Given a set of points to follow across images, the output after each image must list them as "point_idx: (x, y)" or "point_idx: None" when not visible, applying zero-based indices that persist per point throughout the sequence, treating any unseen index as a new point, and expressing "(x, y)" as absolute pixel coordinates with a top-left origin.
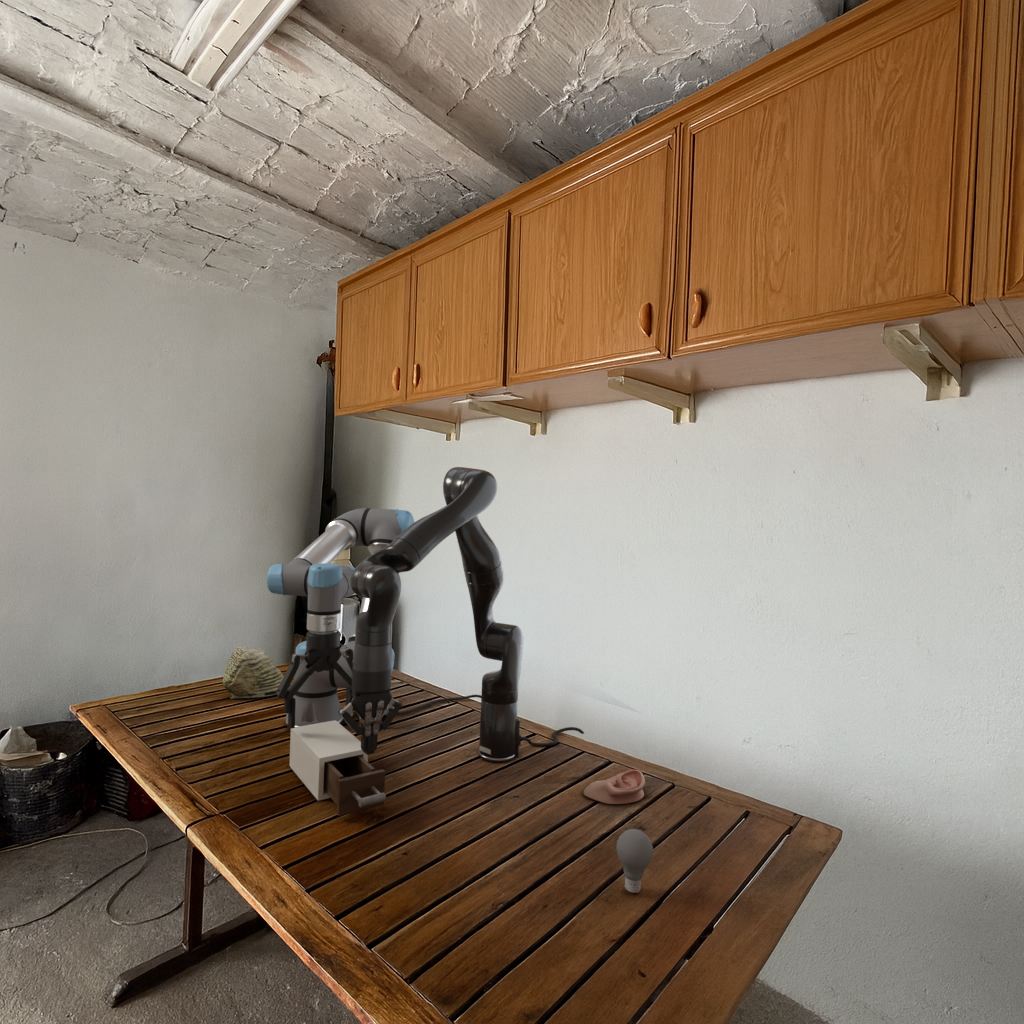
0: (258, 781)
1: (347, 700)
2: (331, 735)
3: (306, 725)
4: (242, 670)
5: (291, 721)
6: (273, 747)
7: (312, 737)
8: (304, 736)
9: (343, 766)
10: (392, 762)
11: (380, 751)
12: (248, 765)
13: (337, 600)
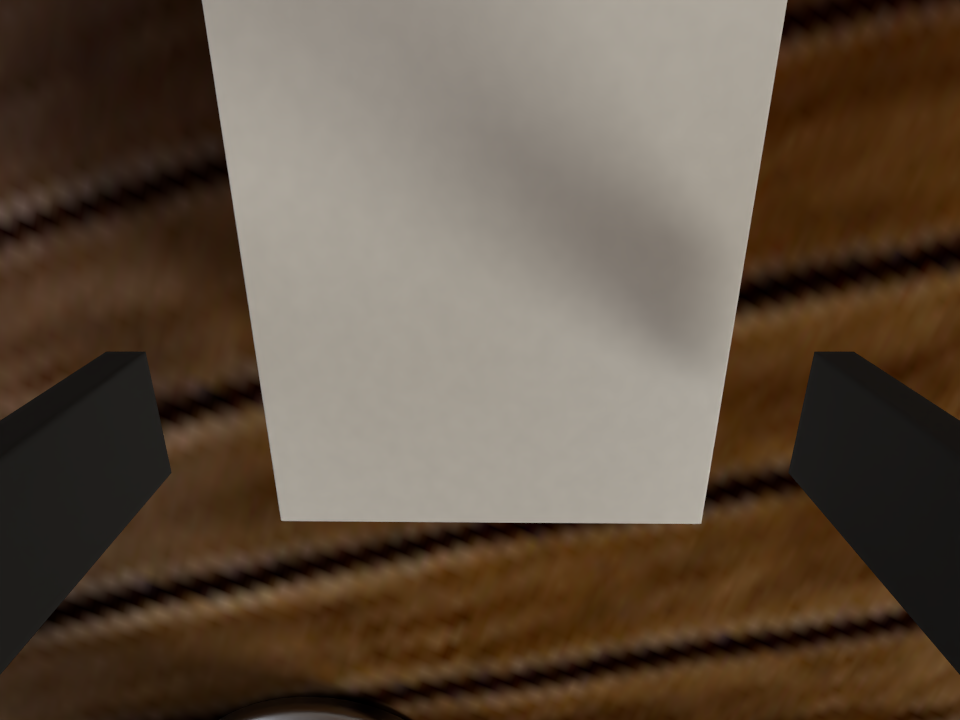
0: (864, 263)
1: (43, 546)
2: (437, 155)
3: (560, 516)
4: None
5: (902, 392)
6: (605, 628)
7: (637, 198)
8: (693, 268)
9: None
10: (2, 103)
11: (55, 317)
12: None
13: None
